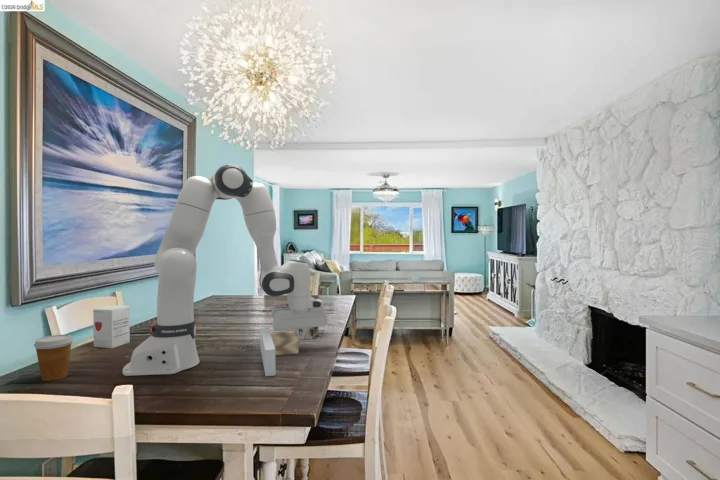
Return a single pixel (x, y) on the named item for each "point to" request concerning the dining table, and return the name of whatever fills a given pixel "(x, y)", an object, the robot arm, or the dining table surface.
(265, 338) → the board
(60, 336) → the disposable coffee cup
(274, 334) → the maple block
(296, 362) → the dining table surface
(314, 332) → the coffee box
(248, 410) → the dining table surface
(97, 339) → the supplement box
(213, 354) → the dining table surface
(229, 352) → the dining table surface
